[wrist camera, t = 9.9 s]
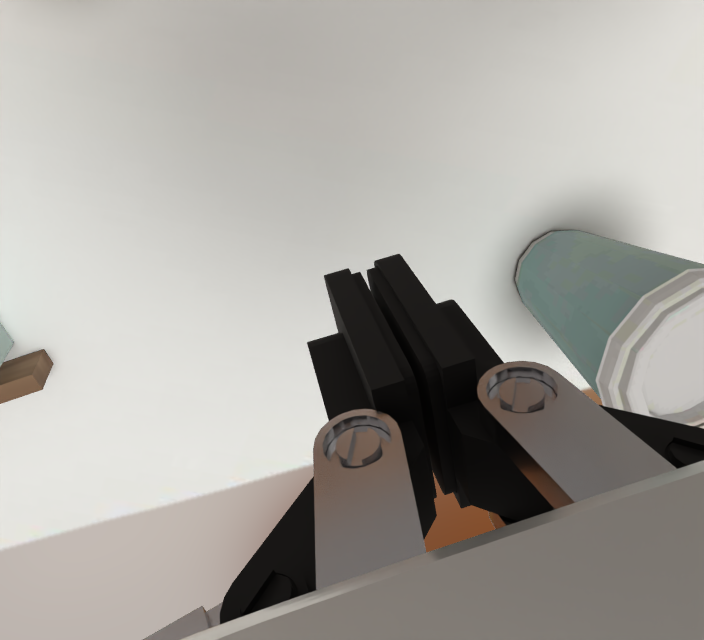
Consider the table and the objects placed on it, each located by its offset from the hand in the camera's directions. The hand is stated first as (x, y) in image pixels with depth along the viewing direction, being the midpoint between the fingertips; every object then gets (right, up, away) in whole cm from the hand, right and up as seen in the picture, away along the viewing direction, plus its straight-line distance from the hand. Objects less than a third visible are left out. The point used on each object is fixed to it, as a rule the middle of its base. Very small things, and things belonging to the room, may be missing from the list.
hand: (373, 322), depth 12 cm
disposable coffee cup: (+15, +4, +31) cm, 35 cm away
